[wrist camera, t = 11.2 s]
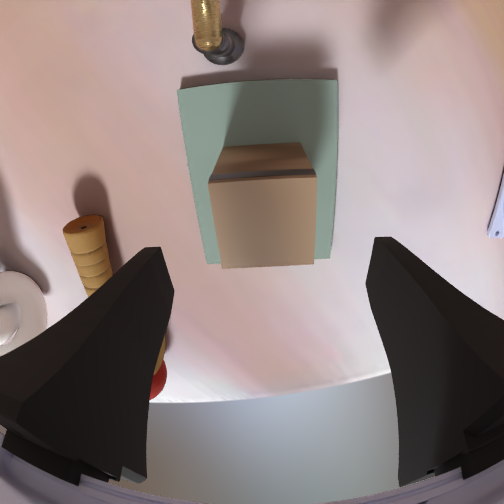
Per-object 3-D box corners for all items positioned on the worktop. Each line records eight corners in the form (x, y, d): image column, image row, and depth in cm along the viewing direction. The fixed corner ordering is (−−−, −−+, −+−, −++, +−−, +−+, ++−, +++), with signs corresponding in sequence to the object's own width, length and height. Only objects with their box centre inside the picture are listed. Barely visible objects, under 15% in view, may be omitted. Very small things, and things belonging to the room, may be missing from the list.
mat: (334, 79, 13) (337, 80, 12) (328, 252, 19) (329, 258, 19) (179, 89, 13) (176, 90, 13) (208, 258, 20) (207, 264, 19)
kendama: (55, 211, 19) (112, 368, 28) (16, 247, 14) (103, 415, 22) (143, 198, 20) (180, 366, 29) (122, 233, 15) (179, 416, 23)
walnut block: (300, 142, 14) (317, 177, 10) (301, 210, 17) (314, 264, 13) (222, 146, 15) (206, 183, 11) (231, 213, 17) (221, 269, 13)
